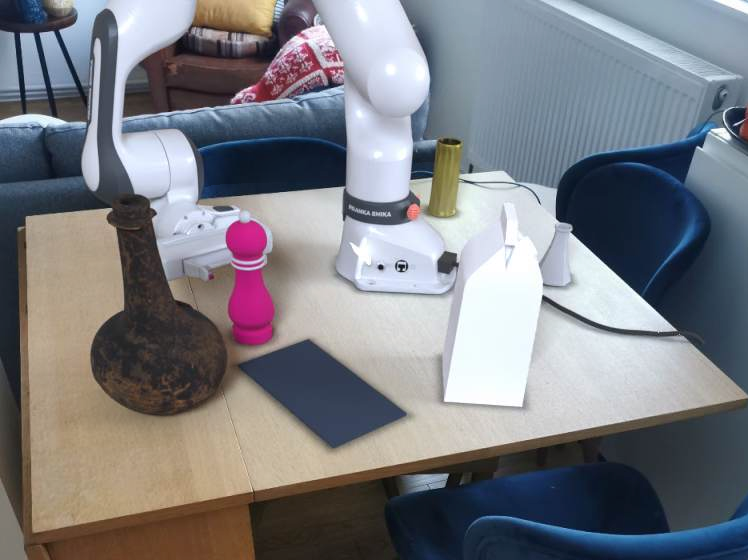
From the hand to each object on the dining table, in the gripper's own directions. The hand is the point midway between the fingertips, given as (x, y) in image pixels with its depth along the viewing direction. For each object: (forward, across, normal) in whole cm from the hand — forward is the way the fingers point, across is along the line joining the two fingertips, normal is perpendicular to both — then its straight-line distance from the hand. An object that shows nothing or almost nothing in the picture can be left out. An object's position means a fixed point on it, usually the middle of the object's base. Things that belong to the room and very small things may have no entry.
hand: (237, 268), depth 116 cm
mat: (+22, 0, +10) cm, 24 cm away
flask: (+17, +57, +10) cm, 60 cm away
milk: (+34, +22, +10) cm, 41 cm away
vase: (-17, +60, +10) cm, 63 cm away
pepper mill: (+3, 0, +10) cm, 11 cm away
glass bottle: (+11, -19, +10) cm, 24 cm away
